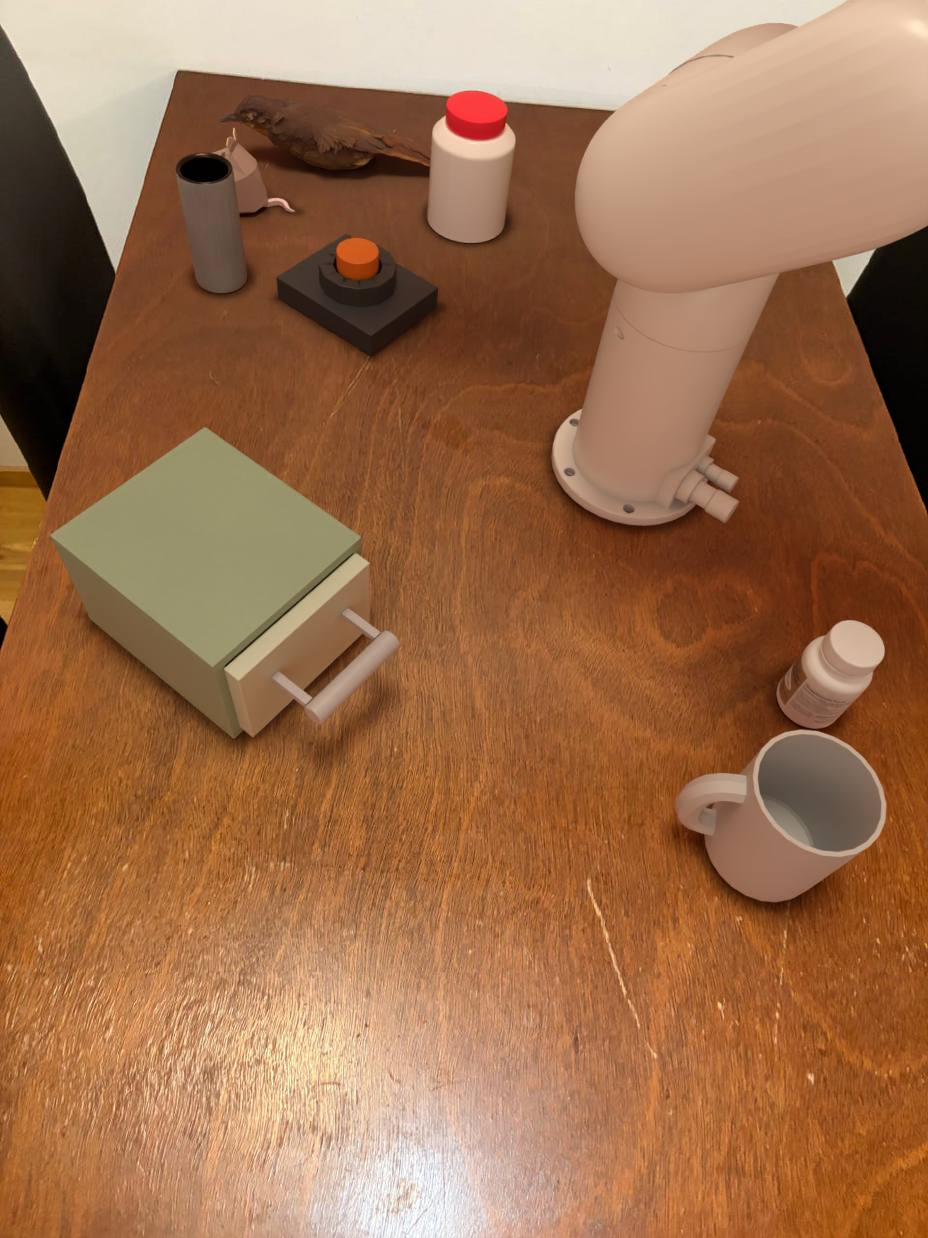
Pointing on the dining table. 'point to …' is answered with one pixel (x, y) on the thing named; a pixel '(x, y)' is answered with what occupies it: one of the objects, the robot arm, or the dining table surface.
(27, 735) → the dining table surface
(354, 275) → the button
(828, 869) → the cup
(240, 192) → the mouse figurine
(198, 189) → the gray hollow cylinder
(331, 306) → the control box
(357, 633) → the drawer
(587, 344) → the dining table surface
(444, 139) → the pill bottle
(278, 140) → the bird sculpture
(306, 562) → the cabinet
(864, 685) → the pill bottle
